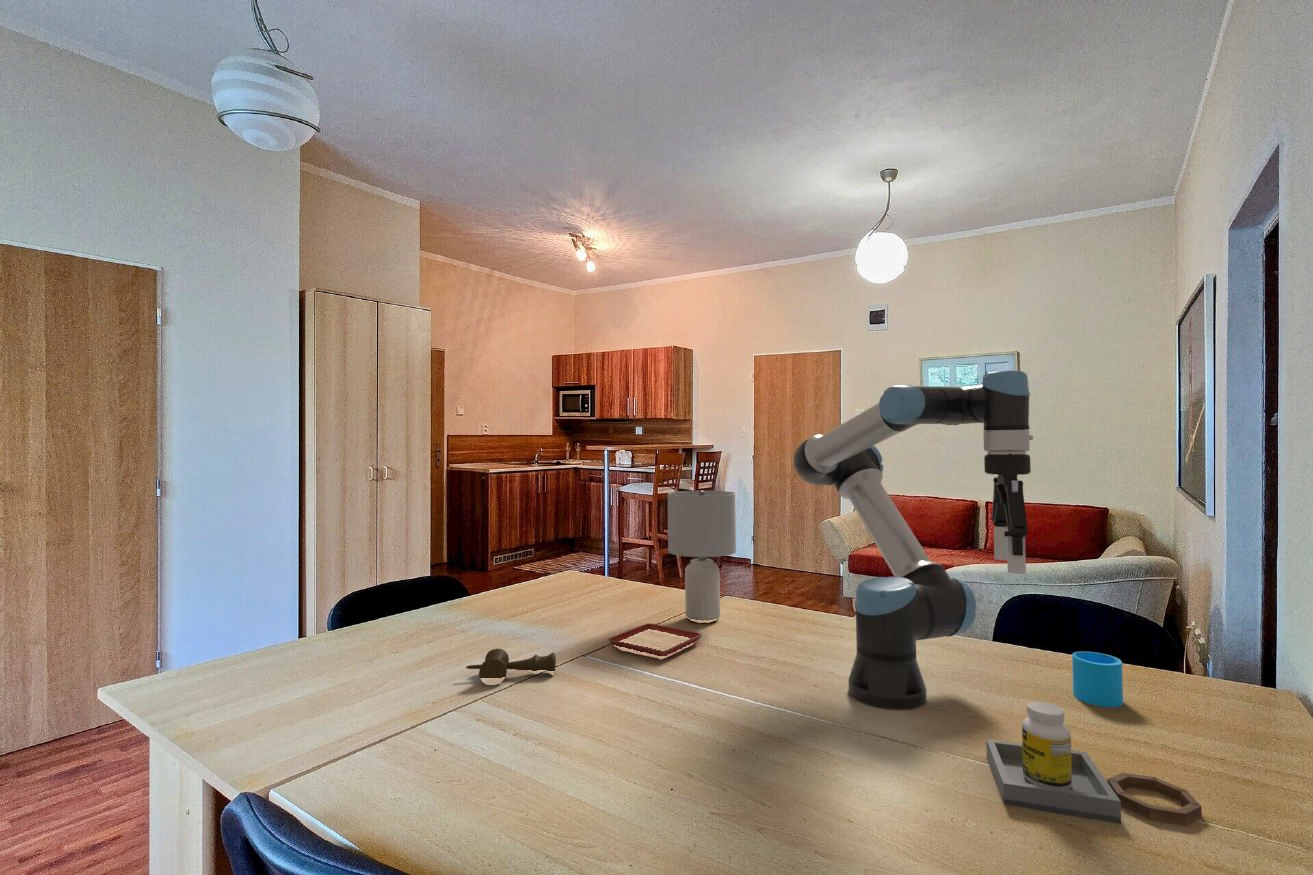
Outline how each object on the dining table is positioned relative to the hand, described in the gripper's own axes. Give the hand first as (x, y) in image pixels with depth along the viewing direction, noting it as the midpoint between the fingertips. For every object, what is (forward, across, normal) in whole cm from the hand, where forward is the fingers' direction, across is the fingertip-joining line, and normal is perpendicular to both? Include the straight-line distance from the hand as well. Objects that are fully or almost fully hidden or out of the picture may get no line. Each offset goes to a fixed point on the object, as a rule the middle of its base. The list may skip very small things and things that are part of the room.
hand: (1009, 566), depth 114 cm
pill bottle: (+28, -24, 0) cm, 37 cm away
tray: (+29, -24, 0) cm, 37 cm away
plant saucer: (+29, +18, +78) cm, 85 cm away
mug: (+29, +18, -18) cm, 39 cm away
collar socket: (+29, -24, -13) cm, 39 cm away
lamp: (+29, +46, +74) cm, 92 cm away
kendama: (+29, -12, +102) cm, 107 cm away
